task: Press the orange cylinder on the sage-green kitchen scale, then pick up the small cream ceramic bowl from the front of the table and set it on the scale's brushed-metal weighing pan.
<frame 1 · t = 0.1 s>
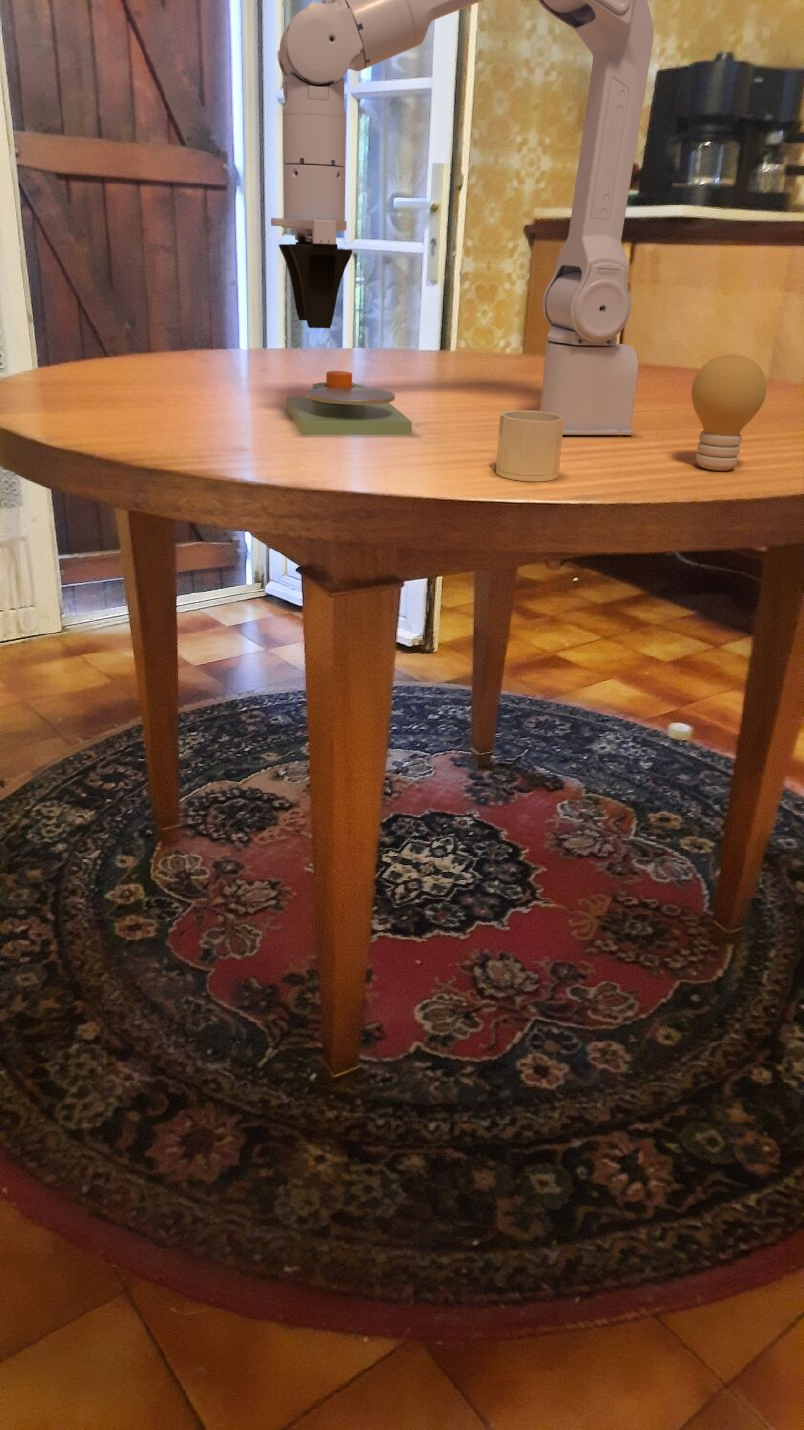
hand: (313, 324, 100), 10 cm above the table, tool pointing down, fingers open, 7 cm apart
orange cylinder: (339, 381, 111), point 4 cm above the table, slide at 0.1 cm
light bulb: (714, 470, 95), on the table
weighing pan: (350, 397, 104), resting on scale
ramekin: (526, 474, 89), on the table
scale: (345, 422, 108), on the table
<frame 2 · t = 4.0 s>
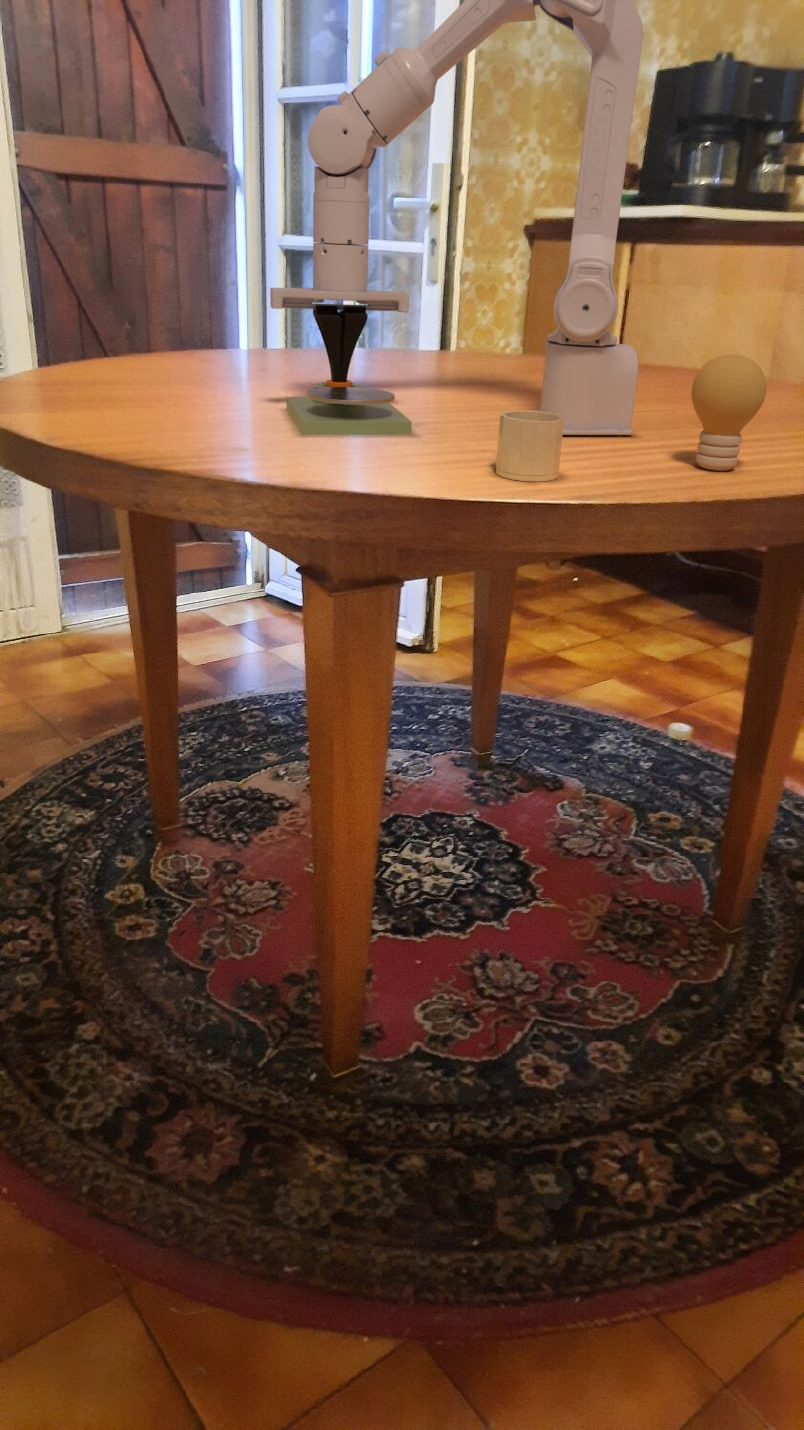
hand: (338, 381, 111), 3 cm above the table, tool pointing down, fingers closed, pressing on orange cylinder
orange cylinder: (339, 389, 112), point 3 cm above the table, slide at -0.7 cm, touching gripper
everything else where it was.
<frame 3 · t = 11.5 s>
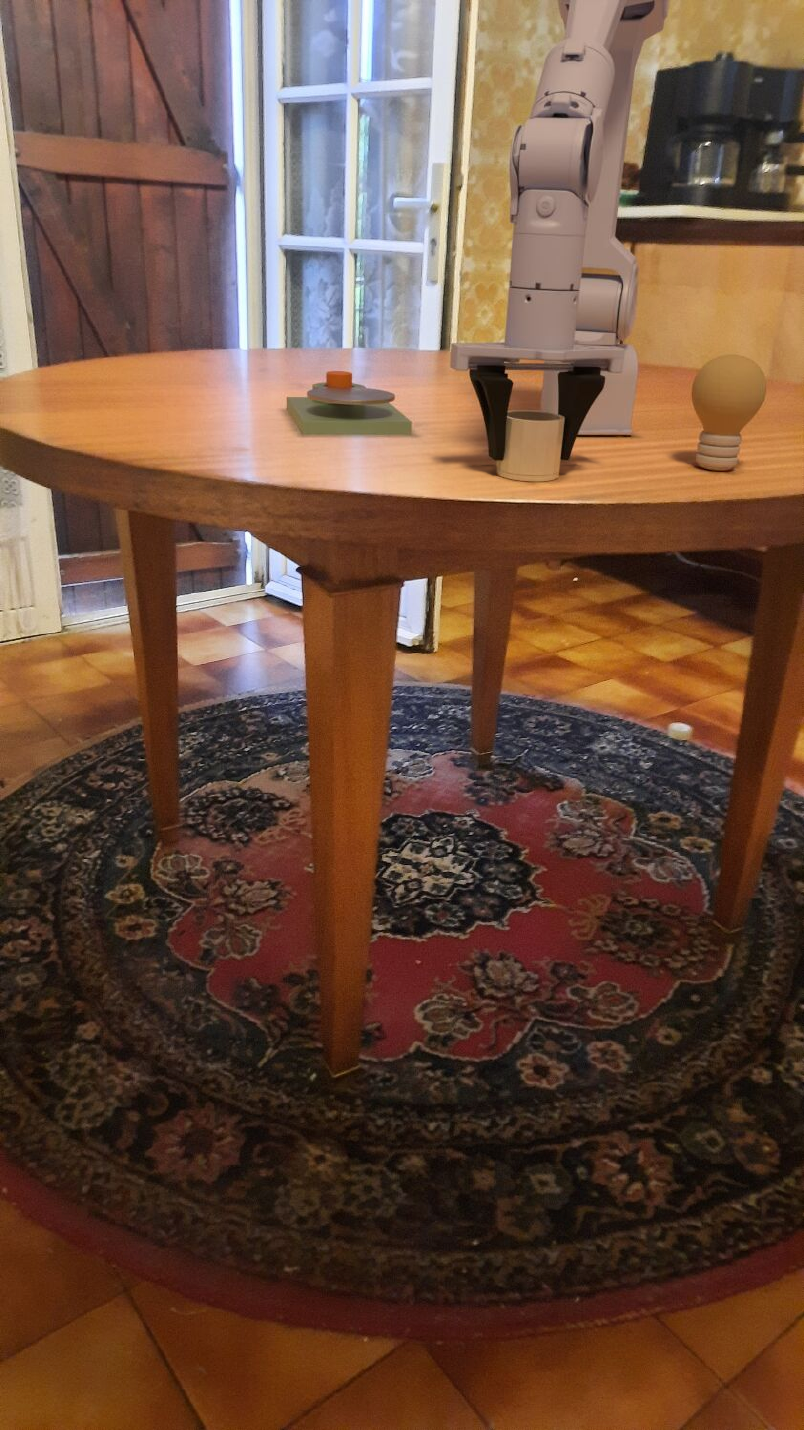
hand: (528, 458, 88), 1 cm above the table, tool pointing down, fingers closed on ramekin, 5 cm apart
orange cylinder: (339, 381, 111), point 4 cm above the table, slide at 0.1 cm
ramekin: (527, 474, 89), on the table, touching gripper
everything else where it was.
when the fingers open (5 cm above the table, at t = 16.2 s): ramekin stays where it is, resting on weighing pan.
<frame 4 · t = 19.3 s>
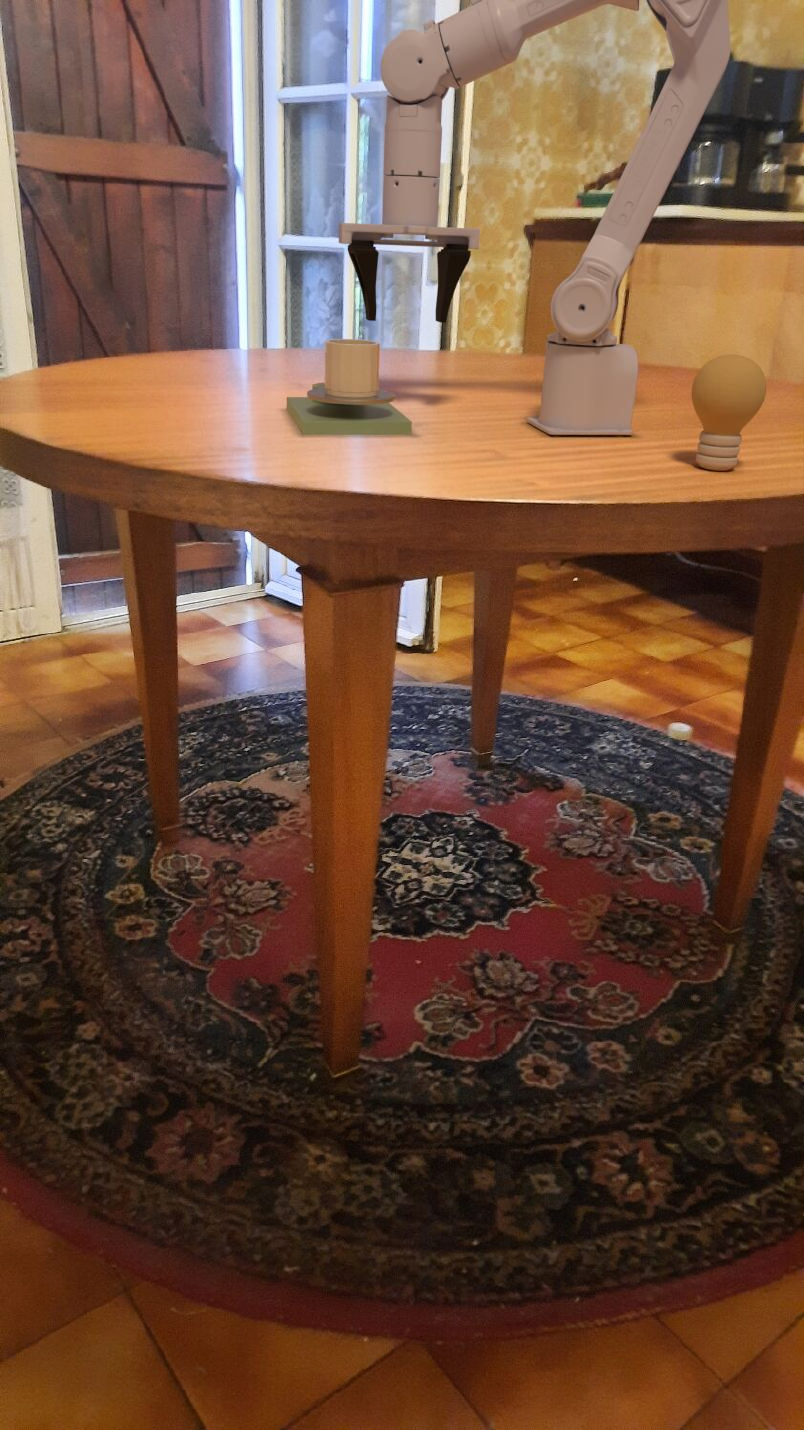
hand: (406, 321, 109), 10 cm above the table, tool pointing down, fingers open, 7 cm apart
ramekin: (351, 393, 104), point 3 cm above the table, touching weighing pan
everything else where it was.
at the end: orange cylinder pushed in 1.0 cm at the most during the clip, back to where it started at the end; ramekin 0.0 cm off-centre on the weighing pan, point 0.4 cm above the weighing pan's base; ramekin tilted 0° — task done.
